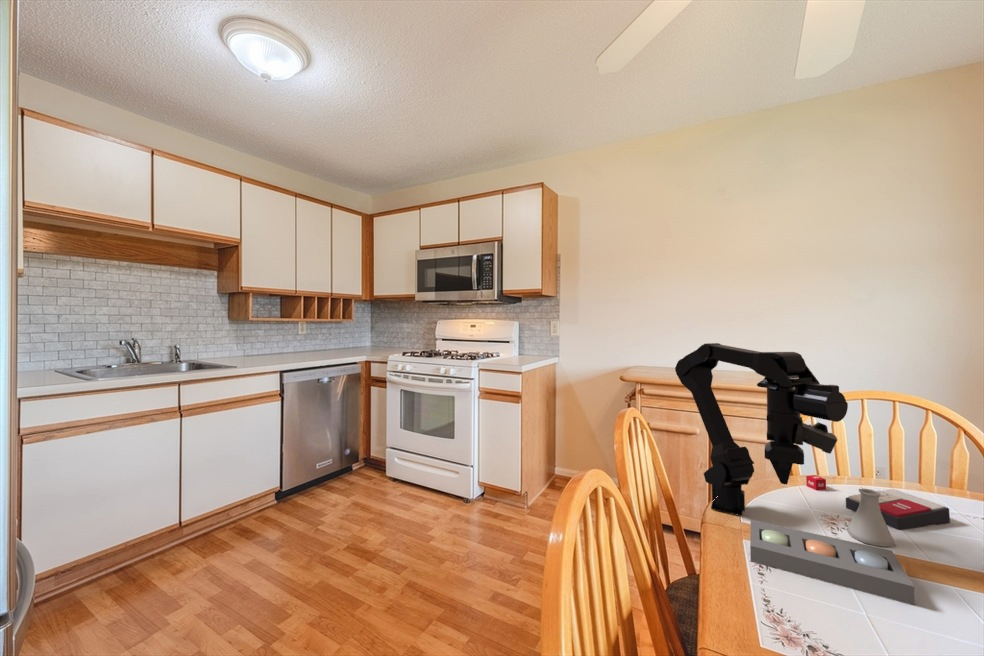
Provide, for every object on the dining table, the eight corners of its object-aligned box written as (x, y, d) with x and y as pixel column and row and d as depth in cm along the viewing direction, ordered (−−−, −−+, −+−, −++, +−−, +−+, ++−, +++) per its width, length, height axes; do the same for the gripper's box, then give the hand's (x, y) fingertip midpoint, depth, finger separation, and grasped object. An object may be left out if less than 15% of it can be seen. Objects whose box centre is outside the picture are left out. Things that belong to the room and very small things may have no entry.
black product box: (844, 494, 96) (891, 486, 98) (845, 511, 96) (893, 502, 98) (898, 515, 85) (950, 505, 88) (899, 534, 85) (951, 524, 88)
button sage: (762, 553, 77) (761, 537, 77) (761, 543, 80) (761, 527, 80) (788, 559, 74) (788, 543, 74) (787, 549, 78) (786, 533, 78)
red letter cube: (816, 490, 106) (815, 479, 106) (806, 486, 109) (806, 475, 109) (826, 490, 106) (826, 479, 106) (816, 485, 109) (816, 475, 109)
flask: (905, 549, 78) (904, 500, 78) (862, 546, 79) (861, 497, 79) (877, 531, 85) (876, 485, 85) (838, 528, 86) (838, 483, 86)
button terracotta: (807, 564, 73) (807, 547, 73) (805, 553, 76) (804, 537, 76) (837, 572, 70) (836, 554, 70) (833, 560, 74) (832, 543, 74)
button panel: (750, 561, 75) (750, 545, 75) (750, 533, 84) (750, 519, 84) (914, 605, 62) (914, 586, 62) (892, 566, 72) (892, 550, 72)
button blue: (857, 577, 69) (857, 559, 69) (852, 565, 72) (852, 548, 72) (891, 585, 66) (890, 567, 66) (884, 572, 70) (883, 555, 70)
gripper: (839, 425, 70) (839, 511, 70) (828, 407, 85) (829, 478, 85) (764, 417, 77) (764, 495, 77) (766, 402, 92) (767, 467, 92)
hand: (783, 483), depth 82 cm, fingers closed
